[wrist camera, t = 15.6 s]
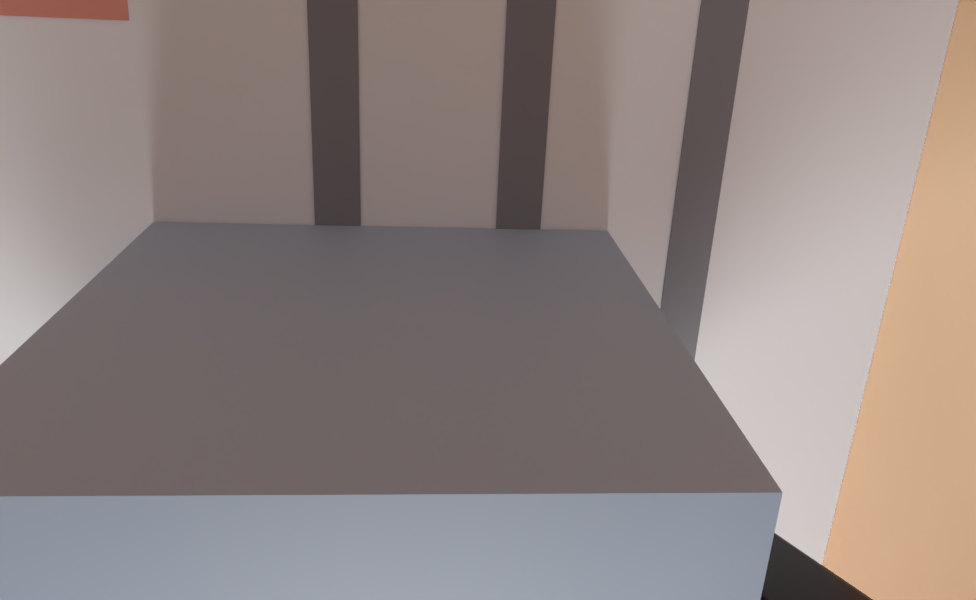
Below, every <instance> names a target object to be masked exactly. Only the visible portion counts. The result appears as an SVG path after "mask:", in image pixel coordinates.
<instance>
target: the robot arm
mask: <svg viewBox="0 0 976 600" xmlns="http://www.w3.org/2000/svg"><path fill="white" fill-rule="evenodd" d="M761 600H872V599H871V598H869V597H868V596H867V595H865V594H864V593H862V592H861V591H859V590H858V589H856V588H855V587H853V586H852V585H850V584H849V583H848V582H846V581H845V580H843V579H842V578H840V577H839V576H837V575H836V574H834V573H833V572H831V571H830V570H828V569H827V568H826V567H824V566H823V565H821V564H820V563H818V562H817V561H815V560H814V559H812V558H811V557H809V556H808V555H806V554H805V553H804V552H802V551H801V550H799V549H798V548H796V547H795V546H793V545H792V544H790V543H789V542H787V541H786V540H785V539H783V538H782V537H780V536H779V535H777V534H776V533H774V537H773V542H772V547H771V551H770V556H769V561H768V566H767V571H766V576H765V580H764V585H763V590H762V595H761Z"/></svg>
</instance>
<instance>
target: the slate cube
mask: <svg viewBox="0 0 976 600" xmlns="http://www.w3.org/2000/svg"><path fill="white" fill-rule="evenodd" d="M782 494H783V492H782V491H781V489H780V488H779V486H778V485H777V483H776V482H775V480H774V479H773V477H772V476H771V474H770V473H769V471H768V470H767V468H766V467H765V465H764V464H763V462H762V461H761V459H760V458H759V456H758V455H757V453H756V452H755V450H754V449H753V447H752V446H751V444H750V443H749V441H748V440H747V438H746V437H745V435H744V434H743V432H742V431H741V429H740V428H739V426H738V425H737V423H736V422H735V420H734V419H733V418H732V416H731V415H730V413H729V412H728V410H727V409H726V407H725V406H724V404H723V403H722V401H721V400H720V398H719V397H718V395H717V394H716V392H715V391H714V389H713V388H712V386H711V385H710V383H709V382H708V380H707V379H706V377H705V376H704V374H703V373H702V371H701V370H700V368H699V367H698V365H697V364H696V362H695V361H694V359H693V358H692V356H691V355H690V353H689V352H688V350H687V349H686V347H685V346H684V344H683V343H682V341H681V340H680V338H679V337H678V335H677V334H676V332H675V331H674V329H673V328H672V326H671V325H670V323H669V322H668V320H667V319H666V317H665V316H664V314H663V313H662V311H661V310H660V308H659V307H658V305H657V304H656V302H655V301H654V299H653V298H652V296H651V295H650V293H649V292H648V290H647V289H646V287H645V286H644V284H643V283H642V281H641V280H640V278H639V277H638V275H637V274H636V272H635V271H634V270H633V268H632V267H631V265H630V264H629V262H628V261H627V259H626V258H625V256H624V255H623V253H622V252H621V250H620V249H619V247H618V246H617V244H616V243H615V241H614V240H613V238H612V237H611V235H610V234H609V232H608V231H585V230H534V229H484V228H433V227H382V226H331V225H280V224H229V223H179V222H153V223H152V224H151V225H149V226H148V227H147V228H146V229H145V230H144V231H143V232H142V233H141V234H140V235H139V236H138V237H137V238H136V239H134V240H133V241H132V242H131V243H130V244H129V245H128V246H127V247H126V248H125V249H124V250H123V251H122V252H121V253H120V254H118V255H117V256H116V257H115V258H114V259H113V260H112V261H111V262H110V263H109V264H108V265H107V266H106V267H105V268H103V269H102V270H101V271H100V272H99V273H98V274H97V275H96V276H95V277H94V278H93V279H92V280H91V281H90V282H88V283H87V284H86V285H85V286H84V287H83V288H82V289H81V290H80V291H79V292H78V293H77V294H76V295H75V296H74V297H72V298H71V299H70V300H69V301H68V302H67V303H66V304H65V305H64V306H63V307H62V308H61V309H60V310H59V311H57V312H56V313H55V314H54V315H53V316H52V317H51V318H50V319H49V320H48V321H47V322H46V323H45V324H44V325H43V326H41V327H40V328H39V329H38V330H37V331H36V332H35V333H34V334H33V335H32V336H31V337H30V338H29V339H28V340H26V341H25V342H24V343H23V344H22V345H21V346H20V347H19V348H18V349H17V350H16V351H15V352H14V353H13V354H11V355H10V356H9V357H8V358H7V359H6V360H5V361H4V362H3V363H2V364H1V365H0V600H761V595H762V590H763V585H764V580H765V576H766V571H767V566H768V561H769V556H770V551H771V547H772V542H773V537H774V532H775V527H776V523H777V518H778V513H779V508H780V503H781V499H782Z"/></svg>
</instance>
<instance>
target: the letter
mask: <svg viewBox="0 0 976 600" xmlns="http://www.w3.org/2000/svg"><path fill="white" fill-rule="evenodd" d="M958 3H959V0H0V365H1V364H2V363H3V362H4V361H5V360H6V359H7V358H8V357H9V356H10V355H11V354H13V353H14V352H15V351H16V350H17V349H18V348H19V347H20V346H21V345H22V344H23V343H24V342H25V341H26V340H28V339H29V338H30V337H31V336H32V335H33V334H34V333H35V332H36V331H37V330H38V329H39V328H40V327H41V326H43V325H44V324H45V323H46V322H47V321H48V320H49V319H50V318H51V317H52V316H53V315H54V314H55V313H56V312H57V311H59V310H60V309H61V308H62V307H63V306H64V305H65V304H66V303H67V302H68V301H69V300H70V299H71V298H72V297H74V296H75V295H76V294H77V293H78V292H79V291H80V290H81V289H82V288H83V287H84V286H85V285H86V284H87V283H88V282H90V281H91V280H92V279H93V278H94V277H95V276H96V275H97V274H98V273H99V272H100V271H101V270H102V269H103V268H105V267H106V266H107V265H108V264H109V263H110V262H111V261H112V260H113V259H114V258H115V257H116V256H117V255H118V254H120V253H121V252H122V251H123V250H124V249H125V248H126V247H127V246H128V245H129V244H130V243H131V242H132V241H133V240H134V239H136V238H137V237H138V236H139V235H140V234H141V233H142V232H143V231H144V230H145V229H146V228H147V227H148V226H149V225H151V224H152V223H153V222H179V223H229V224H280V225H331V226H382V227H433V228H484V229H534V230H585V231H608V232H609V234H610V235H611V237H612V238H613V240H614V241H615V243H616V244H617V246H618V247H619V249H620V250H621V252H622V253H623V255H624V256H625V258H626V259H627V261H628V262H629V264H630V265H631V267H632V268H633V270H634V271H635V272H636V274H637V275H638V277H639V278H640V280H641V281H642V283H643V284H644V286H645V287H646V289H647V290H648V292H649V293H650V295H651V296H652V298H653V299H654V301H655V302H656V304H657V305H658V307H659V308H660V310H661V311H662V313H663V314H664V316H665V317H666V319H667V320H668V322H669V323H670V325H671V326H672V328H673V329H674V331H675V332H676V334H677V335H678V337H679V338H680V340H681V341H682V343H683V344H684V346H685V347H686V349H687V350H688V352H689V353H690V355H691V356H692V358H693V359H694V361H695V362H696V364H697V365H698V367H699V368H700V370H701V371H702V373H703V374H704V376H705V377H706V379H707V380H708V382H709V383H710V385H711V386H712V388H713V389H714V391H715V392H716V394H717V395H718V397H719V398H720V400H721V401H722V403H723V404H724V406H725V407H726V409H727V410H728V412H729V413H730V415H731V416H732V418H733V419H734V420H735V422H736V423H737V425H738V426H739V428H740V429H741V431H742V432H743V434H744V435H745V437H746V438H747V440H748V441H749V443H750V444H751V446H752V447H753V449H754V450H755V452H756V453H757V455H758V456H759V458H760V459H761V461H762V462H763V464H764V465H765V467H766V468H767V470H768V471H769V473H770V474H771V476H772V477H773V479H774V480H775V482H776V483H777V485H778V486H779V488H780V489H781V491H782V492H783V494H782V499H781V503H780V508H779V513H778V518H777V523H776V527H775V532H774V533H776V534H777V535H779V536H780V537H782V538H783V539H785V540H786V541H787V542H789V543H790V544H792V545H793V546H795V547H796V548H798V549H799V550H801V551H802V552H804V553H805V554H806V555H808V556H809V557H811V558H812V559H814V560H815V561H817V562H818V563H820V564H821V565H822V563H823V559H824V555H825V551H826V547H827V543H828V539H829V535H830V531H831V526H832V522H833V518H834V514H835V510H836V506H837V502H838V498H839V493H840V489H841V485H842V481H843V477H844V473H845V469H846V465H847V460H848V456H849V452H850V448H851V444H852V440H853V436H854V432H855V427H856V423H857V419H858V415H859V411H860V407H861V403H862V399H863V394H864V390H865V386H866V382H867V378H868V374H869V370H870V366H871V362H872V357H873V353H874V349H875V345H876V341H877V337H878V333H879V329H880V324H881V320H882V316H883V312H884V308H885V304H886V300H887V296H888V291H889V287H890V283H891V279H892V275H893V271H894V267H895V263H896V258H897V254H898V250H899V246H900V242H901V238H902V234H903V230H904V225H905V221H906V217H907V213H908V209H909V205H910V201H911V197H912V193H913V188H914V184H915V180H916V176H917V172H918V168H919V164H920V160H921V155H922V151H923V147H924V143H925V139H926V135H927V131H928V127H929V122H930V118H931V114H932V110H933V106H934V102H935V98H936V94H937V89H938V85H939V81H940V77H941V73H942V69H943V65H944V61H945V56H946V52H947V48H948V44H949V40H950V36H951V32H952V28H953V24H954V19H955V15H956V11H957V7H958Z"/></svg>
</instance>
